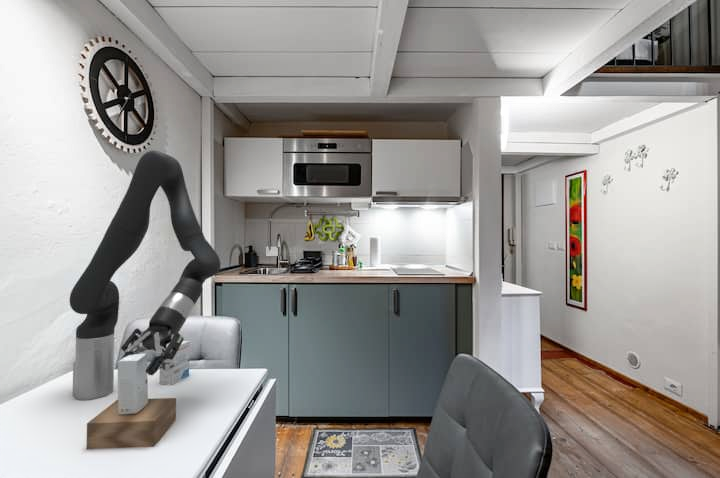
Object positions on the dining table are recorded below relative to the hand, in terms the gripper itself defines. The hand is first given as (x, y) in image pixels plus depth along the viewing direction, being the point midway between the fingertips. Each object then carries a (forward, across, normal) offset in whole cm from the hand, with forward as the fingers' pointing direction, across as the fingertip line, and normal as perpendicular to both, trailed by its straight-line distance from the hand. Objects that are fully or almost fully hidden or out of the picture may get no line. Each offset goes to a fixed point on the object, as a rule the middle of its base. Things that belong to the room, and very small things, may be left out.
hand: (134, 371), depth 87 cm
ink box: (-11, -16, +32) cm, 37 cm away
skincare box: (+6, 0, +7) cm, 9 cm away
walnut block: (+10, 0, +11) cm, 15 cm away
